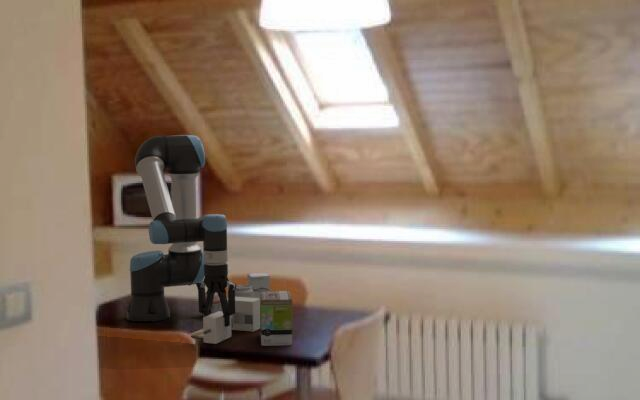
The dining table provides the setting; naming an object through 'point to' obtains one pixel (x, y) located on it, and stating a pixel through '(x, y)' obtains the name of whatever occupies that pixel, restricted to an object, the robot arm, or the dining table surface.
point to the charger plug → (215, 328)
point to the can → (244, 291)
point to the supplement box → (259, 283)
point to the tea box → (276, 318)
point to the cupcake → (214, 304)
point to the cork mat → (198, 334)
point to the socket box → (246, 314)
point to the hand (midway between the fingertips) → (217, 335)
